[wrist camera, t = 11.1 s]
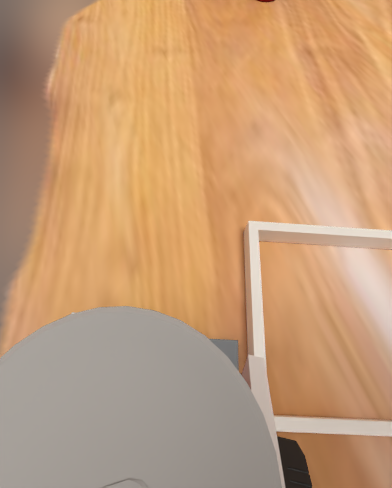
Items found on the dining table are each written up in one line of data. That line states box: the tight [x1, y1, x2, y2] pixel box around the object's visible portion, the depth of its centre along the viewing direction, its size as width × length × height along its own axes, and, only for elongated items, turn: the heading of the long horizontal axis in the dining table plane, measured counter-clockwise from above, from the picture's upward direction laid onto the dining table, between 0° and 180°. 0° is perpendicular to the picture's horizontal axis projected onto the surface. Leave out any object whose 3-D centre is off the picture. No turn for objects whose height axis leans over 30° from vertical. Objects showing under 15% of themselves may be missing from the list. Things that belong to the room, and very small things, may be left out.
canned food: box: [0, 306, 282, 488], centre depth 11 cm, size 8×8×11 cm
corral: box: [244, 221, 392, 436], centre depth 29 cm, size 19×19×2 cm
